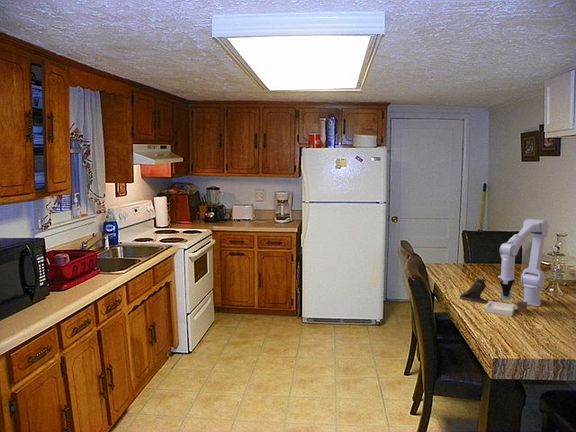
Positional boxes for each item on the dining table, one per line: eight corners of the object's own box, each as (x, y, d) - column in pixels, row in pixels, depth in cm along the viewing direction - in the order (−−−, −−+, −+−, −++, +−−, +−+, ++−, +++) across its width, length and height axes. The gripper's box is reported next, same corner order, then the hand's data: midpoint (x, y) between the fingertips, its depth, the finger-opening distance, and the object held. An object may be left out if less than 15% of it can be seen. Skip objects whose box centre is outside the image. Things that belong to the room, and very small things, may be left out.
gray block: (510, 298, 217) (511, 290, 216) (509, 300, 213) (510, 292, 213) (501, 296, 219) (502, 289, 218) (500, 299, 215) (501, 291, 215)
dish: (489, 305, 226) (489, 300, 226) (515, 309, 220) (515, 304, 219) (484, 312, 216) (485, 307, 216) (512, 316, 210) (512, 311, 210)
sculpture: (483, 304, 229) (484, 279, 228) (458, 298, 239) (460, 275, 237) (487, 301, 233) (489, 277, 232) (463, 296, 243) (464, 273, 241)
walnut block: (518, 308, 222) (518, 300, 221) (527, 309, 220) (527, 302, 219) (517, 310, 218) (517, 302, 218) (526, 312, 216) (526, 304, 216)
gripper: (500, 264, 222) (499, 290, 224) (496, 270, 210) (495, 297, 212) (516, 265, 219) (515, 292, 220) (513, 271, 206) (511, 299, 208)
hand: (506, 295), depth 216 cm, fingers closed on gray block, 4 cm apart
